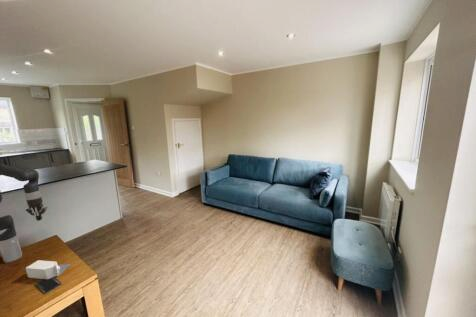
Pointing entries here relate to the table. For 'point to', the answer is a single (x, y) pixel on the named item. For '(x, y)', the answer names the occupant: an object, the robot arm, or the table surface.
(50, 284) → the phone
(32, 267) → the milk carton
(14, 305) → the table surface
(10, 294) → the table surface
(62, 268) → the mat
